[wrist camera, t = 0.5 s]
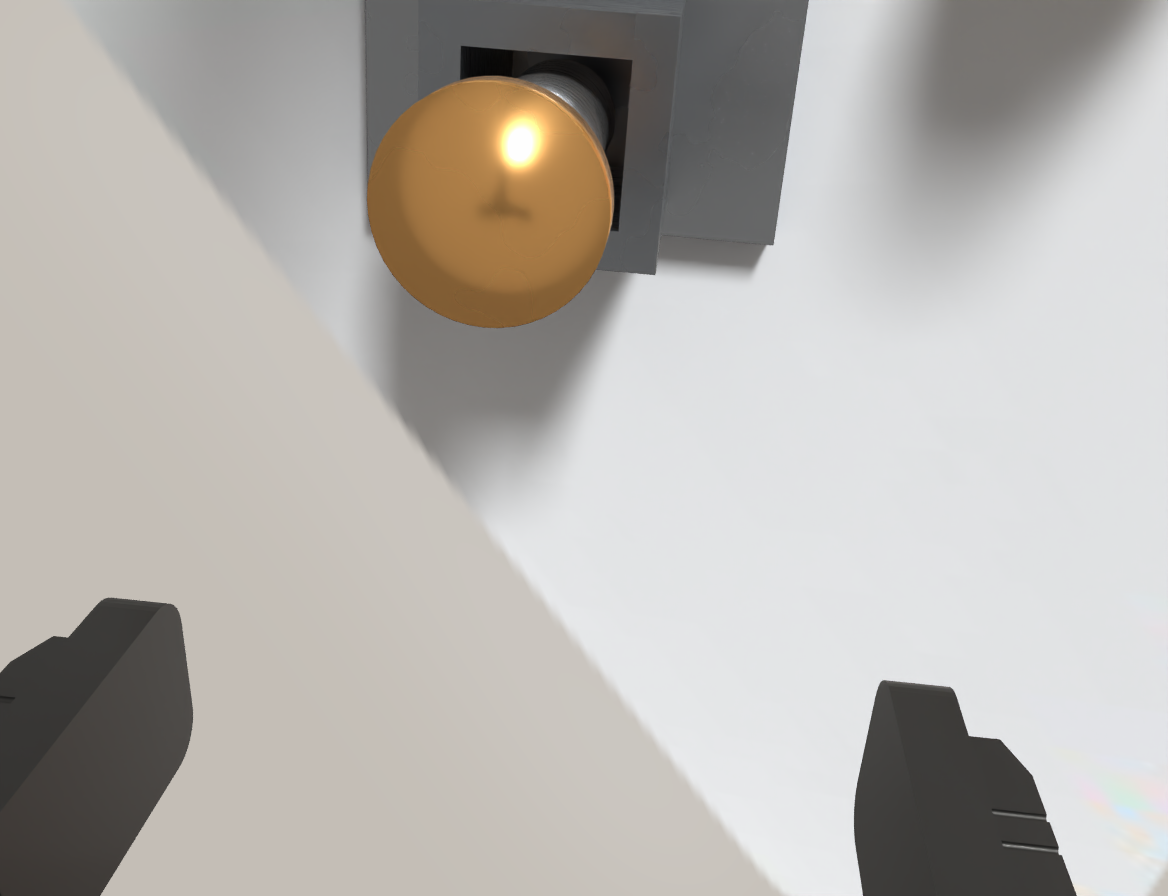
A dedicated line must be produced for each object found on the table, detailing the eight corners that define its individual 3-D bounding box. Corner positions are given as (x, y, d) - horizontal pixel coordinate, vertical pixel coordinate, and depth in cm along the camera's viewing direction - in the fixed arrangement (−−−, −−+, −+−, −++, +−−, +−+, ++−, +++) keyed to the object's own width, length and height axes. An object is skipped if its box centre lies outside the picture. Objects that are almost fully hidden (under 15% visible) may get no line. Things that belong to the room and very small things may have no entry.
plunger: (481, 23, 29) (365, 71, 19) (649, 37, 29) (620, 93, 19) (477, 192, 31) (368, 315, 21) (634, 206, 31) (600, 338, 21)
